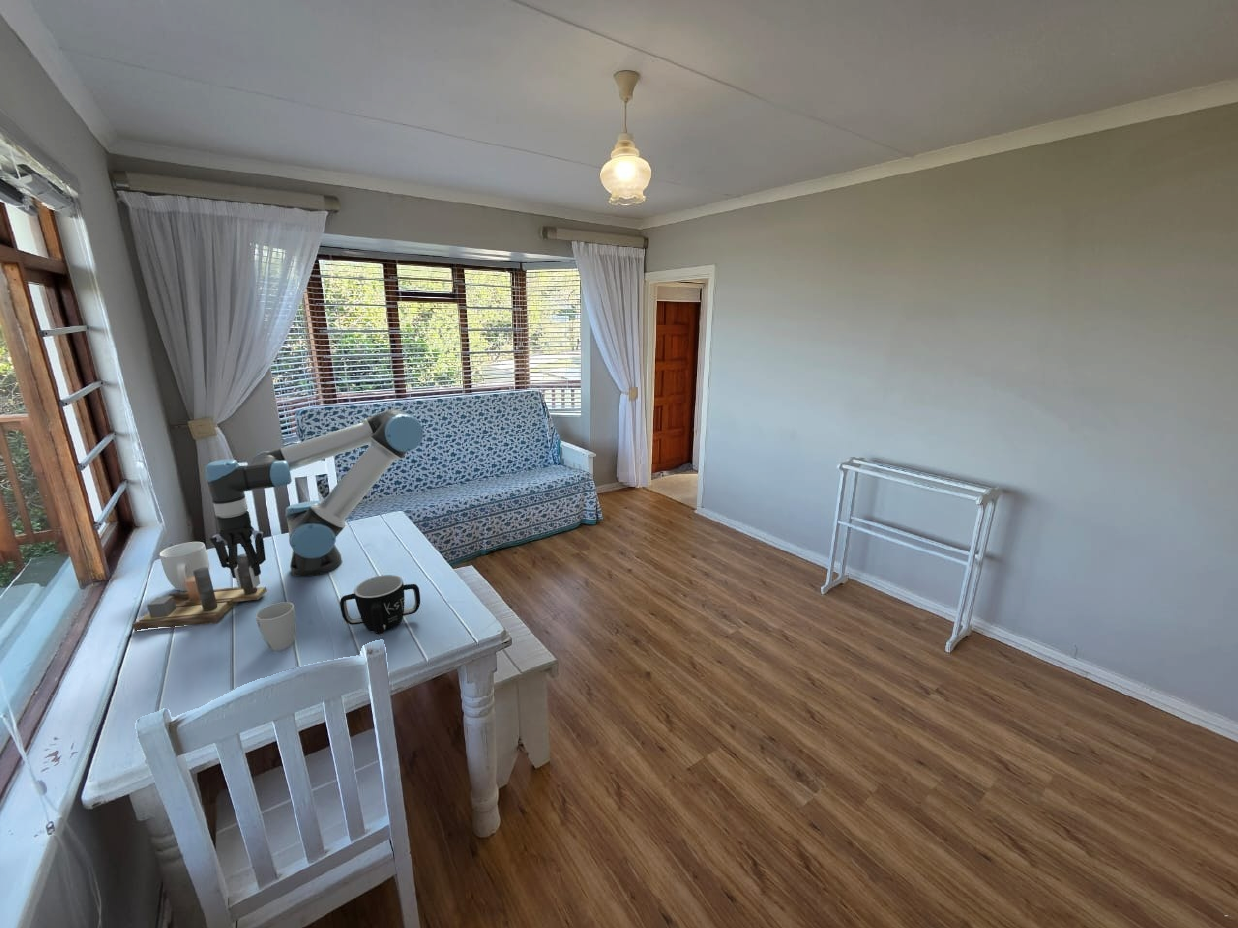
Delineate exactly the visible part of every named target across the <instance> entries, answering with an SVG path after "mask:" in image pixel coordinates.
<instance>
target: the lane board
mask: <svg viewBox="0 0 1238 928" xmlns="http://www.w3.org/2000/svg"><path fill="white" fill-rule="evenodd" d="M242 589H243V588H242ZM213 590H214V592H219V591H229V590H239V589H238V586H237V587H236V586H233V587H224V588H215V589H214V588H213ZM168 596H173V597H174V601H175V605H176V608H178V607H187V606H197V605H202V603H201V602H198V603H189V604H185V602H186V601H188V600H189V597H188V593H187V591H183V592H176V593H169V594H168V595H167V597H168ZM216 602H217V603H225V602H227V604H228V607H227V608H226V609H225V610H224V611H223V612H222V613H221V614H220V615H219V614H218V613H212V614H203V615H194V616H185V617H176V618H166V619H157V620H148V621H139V620H138V621H134V622H132V623H131V624H132V628H133V631H134V632H135V631H137V630H141V629H148V628H158V627H175V626H184V625H193V626H200V625H201V624H202V625H207V624H210V623H211V624H217V623H220V621H222V619H223V618H224V617H225V616H226V615H227V614H229V612H230V611H232V609H233V608H235V606H236V605H237V604H238V603H239V602H240V601H238V602H233V600H232V599H227V600H218V601H216ZM184 627H185V626H184ZM175 628H176V627H175Z"/></svg>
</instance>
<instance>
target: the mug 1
mask: <svg viewBox="0 0 1238 928" xmlns="http://www.w3.org/2000/svg"><path fill="white" fill-rule="evenodd" d="M207 551H208V550H207V548H206V544H205V543H204V542H201V541H190V542H183V543H179V544H176V545H172V546H169V547H166V548H165V549H163V550H162V551H160V552H159V558H160V559H159V560H160V562H161V566H162V568H163V569H162V570H163V571H164V574H165V577H166V578H167V580H168V582H169V583H170V584H171V585H172V586H173V588H174V589H176V590H177V591H179V590H180V592H187V590H186V586H185V582H184V581H185V580H186V579H188V578H190V577H193V576H194V573H193V571H194V570H196V569H199V568H205V567H206V568H208V571H209V572H210V569H211V568H210V559H209V554H208V552H207Z"/></svg>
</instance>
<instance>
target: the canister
mask: <svg viewBox="0 0 1238 928" xmlns="http://www.w3.org/2000/svg"><path fill="white" fill-rule="evenodd" d="M184 582H185V586H186V590H187V591H186V592H187V593H188V597H189V600H190V601H192V602H195V601H200V600H201V599H200V596H199V592H198V588H197V584H196V581H195V577H194V576H193V577H190V578H188V579H186V580H185V581H184Z"/></svg>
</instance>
